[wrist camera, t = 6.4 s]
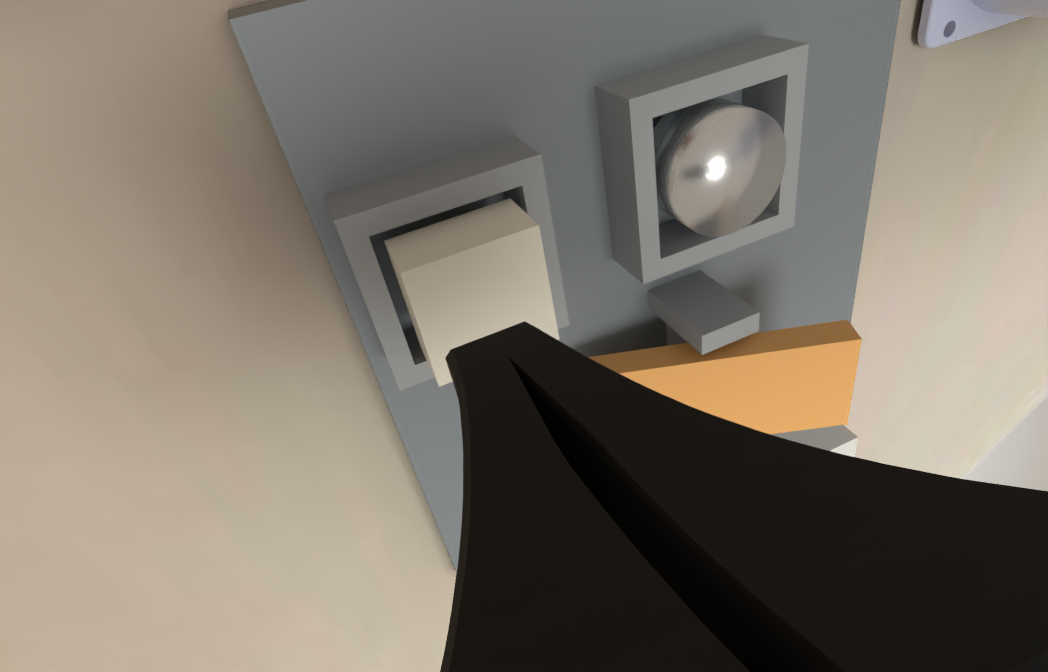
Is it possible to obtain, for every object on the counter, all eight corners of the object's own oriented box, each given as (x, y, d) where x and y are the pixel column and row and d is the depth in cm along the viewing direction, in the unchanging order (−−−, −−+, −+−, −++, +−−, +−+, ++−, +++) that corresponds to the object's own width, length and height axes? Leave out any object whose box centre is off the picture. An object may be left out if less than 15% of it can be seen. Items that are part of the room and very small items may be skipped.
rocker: (842, 308, 20) (862, 334, 18) (829, 398, 22) (846, 427, 21) (585, 346, 20) (589, 373, 19) (597, 429, 23) (602, 459, 21)
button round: (745, 80, 17) (791, 93, 16) (741, 194, 19) (782, 214, 18) (637, 115, 17) (674, 131, 15) (645, 229, 19) (679, 253, 17)
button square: (510, 197, 15) (538, 224, 14) (532, 306, 17) (559, 339, 16) (383, 240, 15) (400, 273, 13) (420, 348, 17) (439, 386, 15)
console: (863, -145, 18) (1040, -168, 14) (801, 411, 31) (885, 481, 27) (228, 10, 14) (229, 38, 10) (457, 570, 27) (496, 677, 23)
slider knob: (806, 396, 27) (858, 437, 25) (802, 432, 28) (851, 474, 26) (763, 415, 26) (811, 459, 24) (760, 451, 28) (807, 496, 25)
